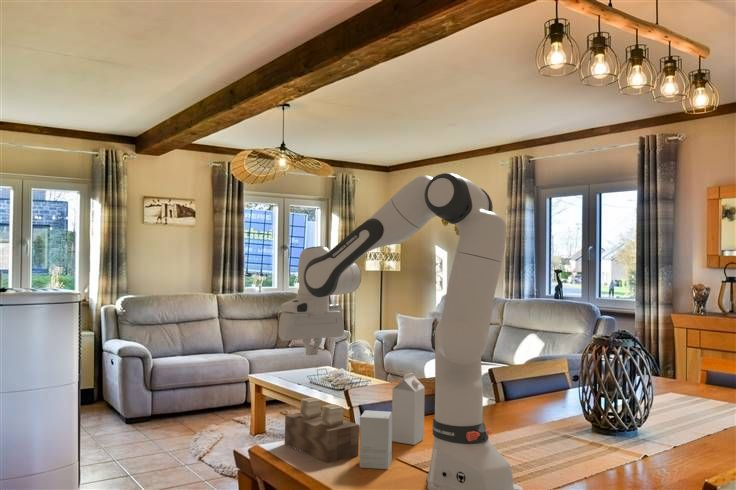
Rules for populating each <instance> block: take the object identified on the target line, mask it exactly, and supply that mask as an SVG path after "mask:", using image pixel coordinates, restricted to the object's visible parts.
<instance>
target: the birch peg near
mask: <svg viewBox="0 0 736 490" xmlns="http://www.w3.org/2000/svg"><path fill="white" fill-rule="evenodd" d="M321 412H322V424H324V425H327V426H330V427H333V426H338V425H343V420H344V406H342V405H338V404H335V403H333V404H327V405H321Z"/></svg>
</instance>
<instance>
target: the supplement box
mask: <svg viewBox="0 0 736 490" xmlns="http://www.w3.org/2000/svg"><path fill="white" fill-rule="evenodd" d="M392 443H393V441H392V411H386V410H384V411H383V410H382V411H381V410H369V409H368V410H364V411H363V412H362V414H361V415H360V416H359V468H361V469H362V468H365V469H378V470H389V467H390V465H391V463H392V459H393V457H392V454H393V453H392V446H393V445H392Z"/></svg>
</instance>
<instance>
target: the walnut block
mask: <svg viewBox="0 0 736 490" xmlns="http://www.w3.org/2000/svg"><path fill="white" fill-rule="evenodd" d="M300 413H301V411H300V412H295V413H290V414H285V415H284V417H285V418H284V445H286V446H288V445H289V447H290V446H291V447H290V448H292V447H294V448H293V449H295V448H296V449H295V450H297V449H298V450H297V451H299V450H301V451H300V452H302V451H303V452H302V453H304V452H305V453H304V454H306V453H307V455H309V456H311V457H313V458H316V459H318V460H320V461H322V462H325V463H327V464H328V463H333V462H337V461H341V460H344V459H349V458H353V457H354V458H355V457H357V456H358V457H359V453H360V424H358V423H355V422H352V421H349V420H346V419H343V425H338V426H333V427H330V426H327V425H324V424H322V411H321V417H317V418H311V419H307V418H304V417H302V416H300Z"/></svg>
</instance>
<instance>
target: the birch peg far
mask: <svg viewBox="0 0 736 490" xmlns="http://www.w3.org/2000/svg"><path fill="white" fill-rule="evenodd" d="M300 412H301V413H300ZM300 412H299V413H300V416H302V417H304V418H307V419H311V418H317V417H321V412H322V400H321V399H319V398H315V397H307V398H306V397H305V398H300Z"/></svg>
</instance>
